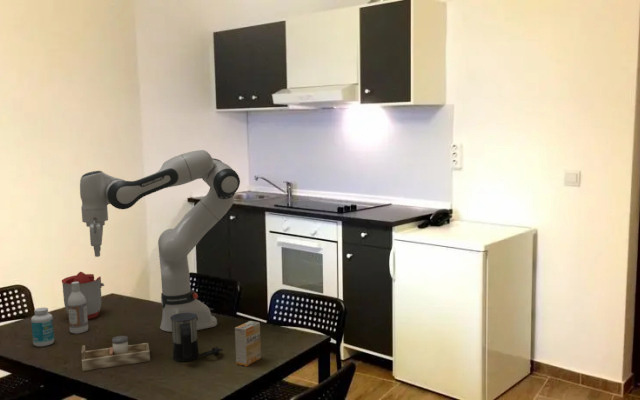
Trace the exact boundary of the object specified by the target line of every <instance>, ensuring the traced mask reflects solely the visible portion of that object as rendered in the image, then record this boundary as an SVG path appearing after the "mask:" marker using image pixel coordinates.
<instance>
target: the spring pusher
mask: <svg viewBox="0 0 640 400" xmlns="http://www.w3.org/2000/svg"><path fill="white" fill-rule="evenodd" d="M109 348H110V356H113V346H110V347H109Z"/></svg>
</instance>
